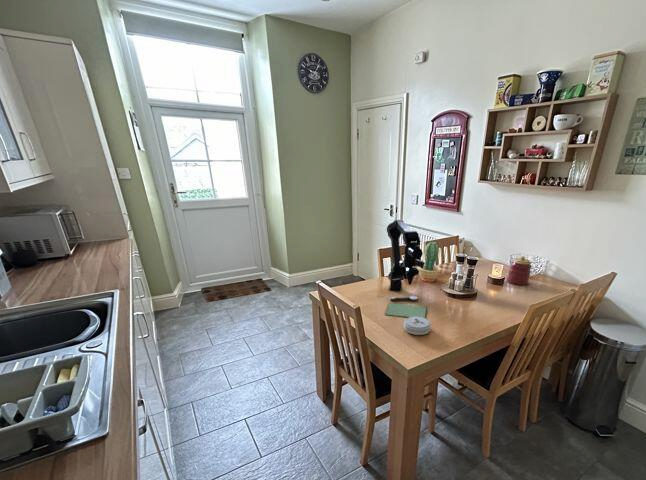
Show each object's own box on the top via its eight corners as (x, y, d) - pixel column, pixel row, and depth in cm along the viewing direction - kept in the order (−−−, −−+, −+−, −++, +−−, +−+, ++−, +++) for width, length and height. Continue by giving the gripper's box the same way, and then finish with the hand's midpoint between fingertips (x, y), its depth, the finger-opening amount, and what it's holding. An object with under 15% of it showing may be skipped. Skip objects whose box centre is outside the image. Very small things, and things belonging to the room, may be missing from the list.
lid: (434, 335, 150) (435, 325, 148) (408, 337, 148) (409, 327, 145) (424, 322, 161) (425, 313, 159) (399, 324, 159) (400, 315, 157)
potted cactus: (444, 279, 219) (449, 242, 209) (432, 285, 209) (436, 246, 198) (424, 273, 228) (428, 238, 218) (412, 279, 218) (415, 242, 208)
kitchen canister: (531, 285, 211) (537, 259, 204) (511, 285, 212) (517, 258, 204) (523, 278, 223) (528, 253, 216) (504, 278, 223) (509, 253, 216)
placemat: (385, 314, 168) (385, 314, 168) (389, 303, 181) (389, 303, 181) (424, 319, 165) (424, 318, 164) (426, 307, 177) (426, 307, 177)
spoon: (390, 302, 182) (391, 299, 182) (389, 299, 187) (389, 296, 186) (418, 301, 184) (418, 298, 184) (416, 298, 189) (416, 295, 188)
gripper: (429, 258, 168) (426, 287, 174) (418, 250, 185) (417, 276, 191) (408, 259, 166) (406, 288, 172) (399, 250, 183) (398, 277, 189)
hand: (407, 282), depth 181 cm, fingers open, 9 cm apart
